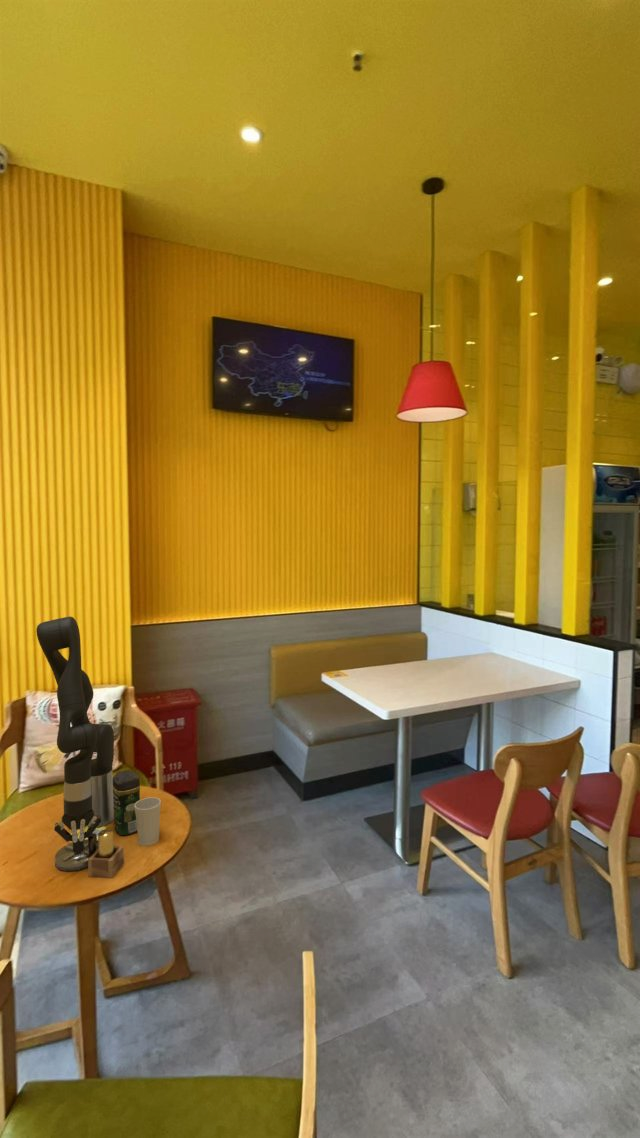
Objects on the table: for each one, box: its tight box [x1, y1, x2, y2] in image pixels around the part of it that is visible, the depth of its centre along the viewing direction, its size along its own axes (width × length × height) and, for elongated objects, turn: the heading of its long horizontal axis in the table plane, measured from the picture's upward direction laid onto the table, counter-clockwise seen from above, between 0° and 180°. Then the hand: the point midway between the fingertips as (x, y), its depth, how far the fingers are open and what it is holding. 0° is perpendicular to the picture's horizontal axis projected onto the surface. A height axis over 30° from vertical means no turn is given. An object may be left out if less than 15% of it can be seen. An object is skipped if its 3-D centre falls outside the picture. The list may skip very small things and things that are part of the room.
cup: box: [134, 796, 162, 847], centre depth 168 cm, size 8×8×12 cm
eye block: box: [87, 845, 125, 879], centre depth 153 cm, size 7×7×5 cm
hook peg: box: [97, 828, 114, 859], centre depth 153 cm, size 4×4×11 cm
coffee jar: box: [113, 769, 141, 836], centre depth 175 cm, size 10×8×19 cm
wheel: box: [54, 832, 98, 872], centre depth 159 cm, size 13×13×8 cm
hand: (78, 852), depth 154 cm, fingers closed
